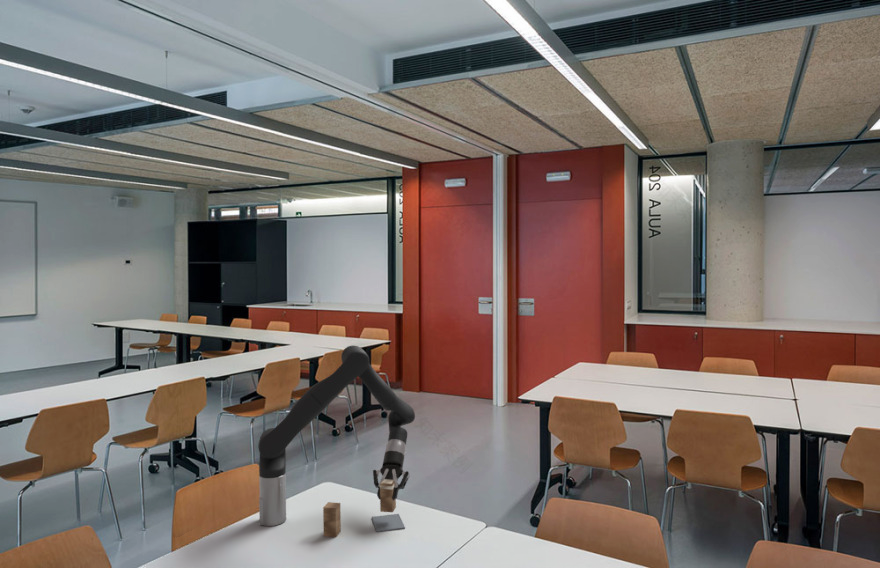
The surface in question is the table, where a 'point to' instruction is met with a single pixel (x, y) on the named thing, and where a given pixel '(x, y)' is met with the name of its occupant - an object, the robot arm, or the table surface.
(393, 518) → the slate mat
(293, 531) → the table surface
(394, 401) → the robot arm
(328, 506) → the plain box
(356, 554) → the table surface
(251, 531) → the table surface
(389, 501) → the label box
